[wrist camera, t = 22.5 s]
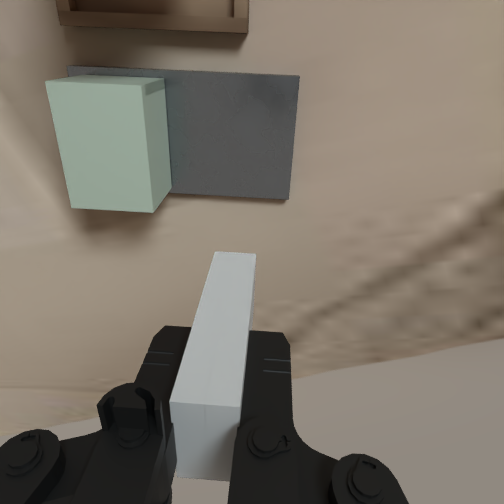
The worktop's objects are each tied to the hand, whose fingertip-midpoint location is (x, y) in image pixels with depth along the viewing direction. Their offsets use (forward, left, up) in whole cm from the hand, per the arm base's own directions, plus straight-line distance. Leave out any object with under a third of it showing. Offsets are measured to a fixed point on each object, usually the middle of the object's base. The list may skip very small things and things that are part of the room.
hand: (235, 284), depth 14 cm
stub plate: (0, -7, -24) cm, 25 cm away
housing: (0, -12, -23) cm, 26 cm away
